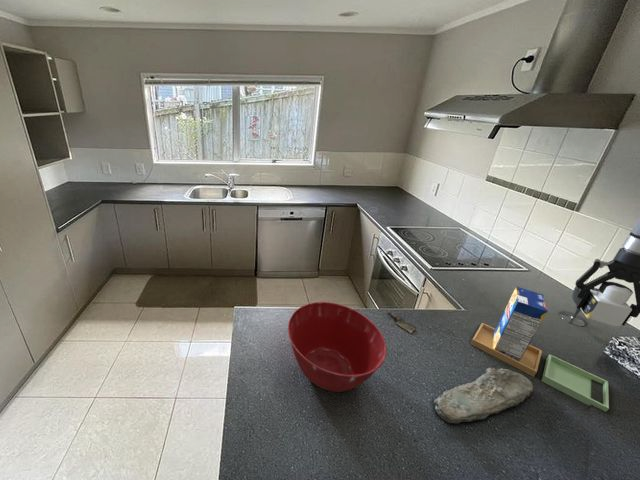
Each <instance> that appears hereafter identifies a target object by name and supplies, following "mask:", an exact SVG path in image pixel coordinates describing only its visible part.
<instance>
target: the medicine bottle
mask: <svg viewBox="0 0 640 480" xmlns="http://www.w3.org/2000/svg"><path fill="white" fill-rule="evenodd" d="M597 289H598V291H594V290H591V291H590V294H589V296H588V297H587V299H586V300H585V302H584V304H583V305H582V307H581V308H580V309H581V311H582V313H583V314H584V316H585V317H586V319H588V320H591V321H594V322H599V323H602V324H605V325H609V326H613V327H616V328H620V327H621V326H623V325H622V323H623V322H624V321H625V319H626V318H627V316H628V315H629V314H630V312H631V311H632V308H631V307H630V306H631V305H629V304H628V303H627V302H628V301H629V300H630V298H631V297H632V296H633V293H634V290H632V289H631V288H630V287H628V286H626V285H624V284H621V283H619V282H614V281H609V280H608V281H606V282H604V283H602V284H600V286H599V287H598V288H597Z"/></svg>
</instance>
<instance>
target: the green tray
mask: <svg viewBox="0 0 640 480" xmlns="http://www.w3.org/2000/svg"><path fill="white" fill-rule="evenodd" d="M546 357H547V358H546V360H545V362H544V363H545V364H544V368H543V373H542V377H541V383H544V384H546V385H547V386H550V387H551V388H554V389H555V390H557V391H559V392H562V393H563V394H565V395H567V396H569V397H570V398H572V399H575V400H576V401H578V402H579V403H582V404H584V405H586V406H588V407H591V406H594V407H595V408H598V409H600V410H601V411H603V412H605V413H607V412H608V410H609V409H610V394H609V393H610V392H609V381H608V380H605V379H604V378H602V377H600V376H597V375H595V374H593V373H591V372H589V371H587V370H584V369H583V368H580V367H578V366H576V365H573V364H572V363H569V362H568V361H565V360H563V359H561V358H559V357H557V356H554V355H552V354H550V353H549V355H548V356H546ZM592 381H594V382H597V383H599V384H601V385H602V403H601V402H599V401H598V400H595V399H593V398H592Z"/></svg>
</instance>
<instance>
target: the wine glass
mask: <svg viewBox="0 0 640 480" xmlns="http://www.w3.org/2000/svg"><path fill="white" fill-rule="evenodd" d="M598 289H599V288H597V287H593V288H591V289H590V290H594V291H598ZM580 290H581V288H580V287H579V286H576V285H575V286H574V289H573V290H572V294H571V299H572V301H573V303H574V304H575V307H576V308H575V312H574V314H573V315H571V314H567V313H560V314H559V316H560V318H561V319H562V320H564V321H565V322H567V323H568V324H570V325H573V326H577V327H584V326H586V325H585V324H586V323H585V322H584V321H583V320H581V319H580V318H578V317H577V316H578V315H579V313H580V312H581V311H582V310H581V309H578V308H577V304H578V303H579V301H580V300H581V298H578V293H579V292H580Z"/></svg>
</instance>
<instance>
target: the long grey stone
mask: <svg viewBox="0 0 640 480" xmlns="http://www.w3.org/2000/svg"><path fill="white" fill-rule="evenodd" d="M532 392H534V386H533V383H532V382H531V380H530V379H529V378H527V377H526V376H525V375H523V374H521V373H519V372H516V371H512V370H510V368H509V369H506V368H503V367H501V368H499V369H496V368H492V367H488V368H486V369H485V373H484V374H481V375H480V376H478V377H477V378H476V379H475V380H473V381H472V382H467V383H463V384H461V385H458V386H454V387H452V388H451V389H448V390H445V391H443V393H442V394H439V395H438V397H437V398H435V399H434V400H433V404H434V405H435V406H434V410H435V412H436V413H437V416H439V417H440V418H441V420H443V421H445V422H446V423H448V424H460V423H463V422H464V423H465V422H466V423H469V422H475V421H476V420H477V421H478V420H485V419H487V417H489V416H491V415H493V414H495V415H496V414H499V413H500V412H503V411H505V410H506V409H509V408H512V407H516V406H518V405H519V404H520V403H523V402H524V400H525V399H526V398H528V397H530V396H531V393H532Z"/></svg>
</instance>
